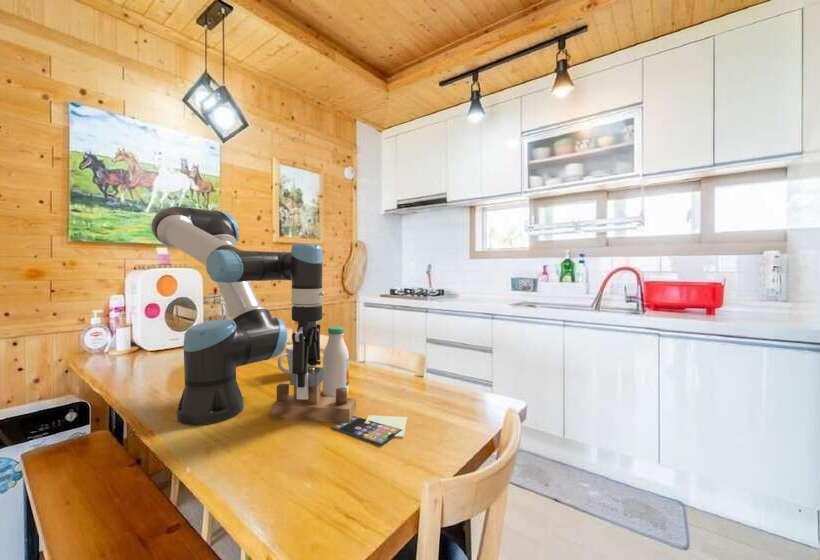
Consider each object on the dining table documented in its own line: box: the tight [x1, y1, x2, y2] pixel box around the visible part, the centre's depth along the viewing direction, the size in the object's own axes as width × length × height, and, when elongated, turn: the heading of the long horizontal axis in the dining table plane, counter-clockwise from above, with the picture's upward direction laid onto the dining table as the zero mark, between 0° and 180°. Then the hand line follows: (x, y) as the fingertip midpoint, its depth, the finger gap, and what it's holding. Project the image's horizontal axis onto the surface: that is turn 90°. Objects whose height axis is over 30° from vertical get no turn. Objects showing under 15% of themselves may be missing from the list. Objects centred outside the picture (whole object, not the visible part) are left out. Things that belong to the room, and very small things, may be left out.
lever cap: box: [289, 366, 324, 386], centre depth 92 cm, size 7×5×4 cm
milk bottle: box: [322, 326, 350, 397], centre depth 107 cm, size 8×8×20 cm
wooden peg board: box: [270, 383, 357, 423], centre depth 92 cm, size 20×7×8 cm, turn 85°
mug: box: [277, 343, 309, 375], centre depth 122 cm, size 10×15×10 cm
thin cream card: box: [366, 414, 408, 439], centre depth 86 cm, size 10×10×1 cm
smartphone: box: [330, 415, 402, 448], centre depth 84 cm, size 8×15×1 cm, turn 58°
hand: (307, 393), depth 92 cm, fingers open, 6 cm apart
